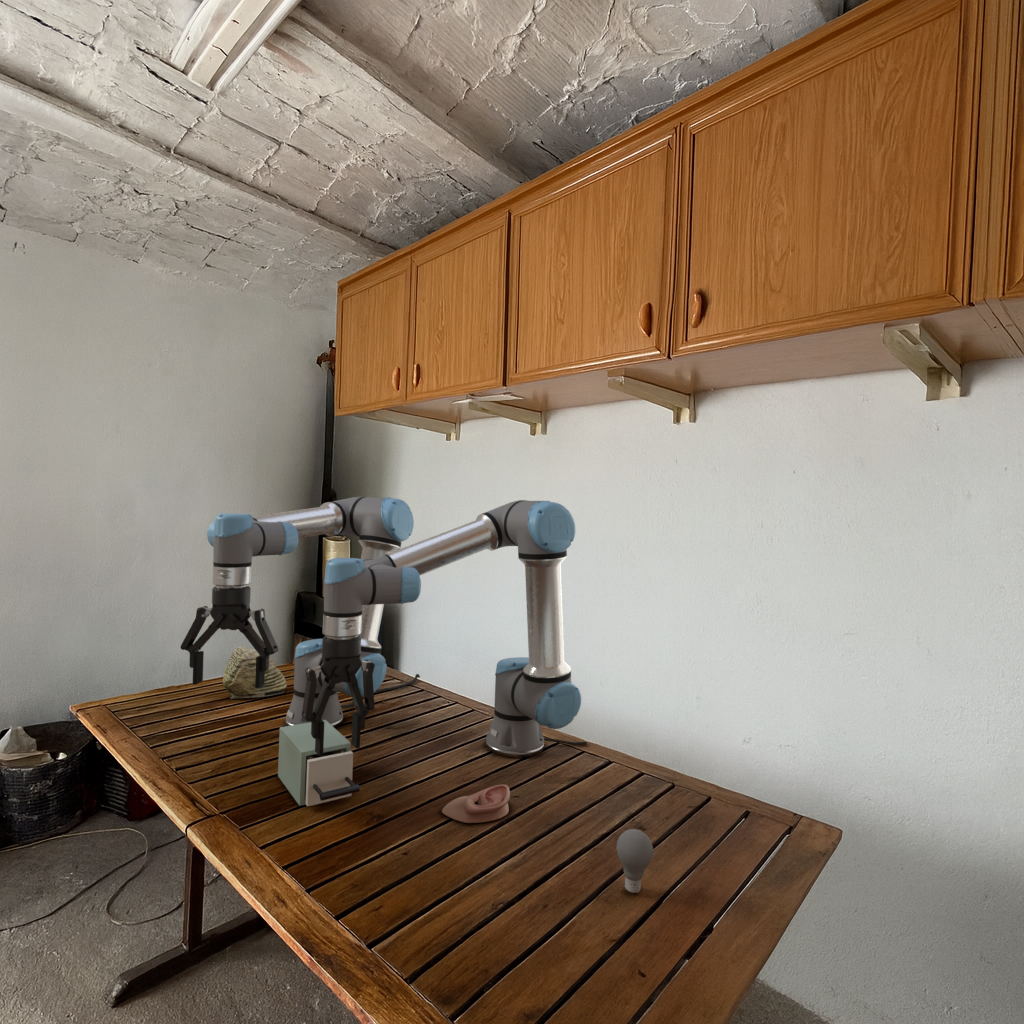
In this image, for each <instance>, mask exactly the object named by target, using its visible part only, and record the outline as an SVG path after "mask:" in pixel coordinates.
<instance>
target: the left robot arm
mask: <svg viewBox="0 0 1024 1024" xmlns="http://www.w3.org/2000/svg"><path fill="white" fill-rule="evenodd" d="M414 521H415V520H414V515H413V512H412V510H411V507H410V506H409V504H408V503H407V502H406V501H405V500H402V499H400V498H393V497H390V496H387V497H382V496H381V497H379V496H353V497H348V498H343V499H338V500H333V501H327V502H324V503H322V504H321V505H320V506H318V507H311V508H310V507H309V508H303V509H296V510H290V511H289V510H288V511H282V512H281V511H280V512H275V513H273V512H272V513H266V514H260V515H252V514H250V513H233V512H232V513H231V512H230V513H226V512H225V513H224V512H223V513H218V514H217V515H216V516H215V519H214V521H212V522H211V523H210V524H209V526H208V528H207V531H206V539H207V541H208V543H209V545H210V546H211V547H213V548H212V549H213V550H212V551H213V555H212V557H213V559H212V585H214V586H213V588H211V604H212V606H211V607H208V606H207V605H203V606H200V607H198V608H196V613H195V618H194V619H193V622H192V624H191V626H190V628H189V629H188V631H187V633H186V635H185V637H184V638H183V641H182V642H181V645H180V650H182V651H186V652H188V653H189V662H188V663H189V664H188V665H189V668H190V669H192V686H193V685H195V686H196V685H198V684H200V683H202V682H203V681H204V680H203V679H204V657H205V656H204V653H205V652H204V650H202V648H203V647H204V646H205V645H206V643H207V642H208V641H209V640H210V639H211V638H212V637H213V636H214V635H215V634H216V632H217V631H218V630H219V629H220V630H221V631H222V630H223V631H224V630H229V631H237V630H238V631H239V632H240V633H242V634H243V635H244V637H245V638H246V639H247V641H248V642H249V644H251V646H252V647H253V649H255V650H256V651H257V652H258V654H259V655H260V656H258V657H256V679H255V688H260V687H261V686H263V685H264V677H265V671H267V670H268V668H269V658H270V655H273V654H275V653H277V652H278V651H280V650H279V646H278V644H277V642H276V640H275V637H274V635H273V633H272V631H271V629H270V626H269V624H268V621H267V619H266V611H265V609H264V608H260V609H259V608H258V609H254V610H253V609H251V608H250V607H251V606H250V605H251V592H252V588H251V587H250V586H249V585H250V584H251V583H252V564H253V563H252V561H253V557H262V556H263V557H265V556H282V555H286V554H291V553H293V552H294V551H295V550H296V548H297V547H298V544H299V539H304V538H305V539H306V538H311V537H316V536H320V535H325V536H327V537H336V536H347V537H348V536H351V537H356V538H358V543H359V544H360V546H361V547H362V551H361V556H360V559H362V560H364V559H370V560H372V559H375V558H378V557H380V556H384V555H386V554H389V553H391V552H394V551H396V550H399V549H401V547H402V542H404V541H406V540H408V539H409V538H410V537H411V535H412V533H413V531H414V526H415V525H414V523H415V522H414ZM384 607H385V604H373V605H363V607H362V628H361V634H359V636H360V637H361V653H360V658H361V660H362V661H367V660H369V661H371V662H372V663H374V664H375V667H374V671H373V689H374V694H379V693H382V692H388V691H393V690H397V689H400V688H404V687H407V686H410V685H413V684H414V683H415V682H416V681H417V680H418V679H419V678H421V675H420V674H419V673H416V674H415V676H414V678H413V680H410V681H408V682H405V683H402V684H399V685H395V686H389V687H384V688H380V687H382V684H383V682H384V680H385V678H386V675H387V669H388V666H387V665H388V664H387V663H386V661H387V660H386V658H385V657H384V656H383V655H382V654H381V651H382V645H381V644H380V643H379V640H378V639H379V638H378V637H379V633H380V627H381V622H382V617H383V612H384ZM209 616H210V617H211V618H212V620H213V621H212V622H211V623H210V624H209V626H208V627H207V628H206V629H205V630H204V631H203V633H202V634H201V635H200V636H199V637H198V635H199V634H200V632H201V630H202V628H203V626H204V624H205V622H206V620H207V618H209ZM250 618H252V619H251V620H253V621H254V623H255V626H256V629H257V630H258V632H259V634H258V633H257V632H256V630H255V629H254V627H253V624H252V623H251V622H250V620H249V619H250ZM197 637H198V639H197ZM322 639H323V638H313V639H308V640H304V641H302V642H299V643H298V644H297V645H296V647H295V652H294V653H295V654H294V657H293V659H294V660H293V662H294V663H293V665H294V666H293V695H292V696H293V697H292V699H291V702H290V704H289V708H288V709H287V713H286V715H285V726H291V725H297V724H303V723H309V722H311V721H306V720H305V719H304V718H303V717H302V710H303V703H304V696H305V689H306V682H307V677H306V673H305V669H306V668H307V667H310V668H313V667H316V666H319V664H320V662H321V660H322ZM355 676H356V679H357V682H358V687H359V690H360V693H361V696H362V698H364V688H363V671H362V670H361V667H360V669H359V670H358V672H357V673H356V675H355ZM324 677H325V675H324V674H323V673H322V671H321V672H320V673H319V677H318V678H317V686H316V692H315V699H314V706H315V704H316V701H317V698H318V696H319V693H320V691H321V688H322V685H323V684H322V683H323V680H324ZM338 693H340V694H344V695H348V696H350V697H352V695H351V692H350V689H349V686H348V683H347V682H341V683H338V684H335V687H334V689H332V692H331V694H330V697H329V699H328V702H327V705H326V707H325V710H324V713H323V715H322V718H321V720H326V721H327V722H328V723H330V724H331V725H332V726H333V727H334V728H335V729H336V728H337V727H339V726H340V725H342V723H343V722H344V714H343V709H345V708H350V707H353V706H355V704H354V701H353V700H352V702H350V703H347V704H341V702H340V699H339V695H338ZM314 706H313V709H314Z"/></svg>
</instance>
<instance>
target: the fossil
mask: <svg viewBox="0 0 1024 1024" xmlns="http://www.w3.org/2000/svg"><path fill="white" fill-rule="evenodd" d="M258 656H260V655H259V654H258V652H257V651H256V650H255V648H251V647H247V646H246V647H245V646H238V647H237V648H236V649H235V650H233V651H232V653H231V656H230V657H229V659H228V660H227V663H226V666H225V668H224V671H223V675H222V676H223V677H222V685H223V687H224V688H225V690H226V691H228V693H229V698H230V699H250V698H264V697H271V696H275V695H281V694H284V693H285V691H286V689H287V687H288V686H287V680H286V678H285V676H284V674H283V673H282V672H281V669H279V668H278V667H277V665H276V663H275V662H274V660H273V659H272V658H271V657H269V668H268V670H267V671H265V677H264V685H263V686H261V687H260V688H255V679H256V657H258Z"/></svg>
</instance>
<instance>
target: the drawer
mask: <svg viewBox="0 0 1024 1024" xmlns="http://www.w3.org/2000/svg"><path fill="white" fill-rule="evenodd" d="M353 763H354V752H353V751H352V750H351V751H349V752H344V750H343V749H339V750H334V751H329V752H324V753H323V755H322V756H319V755H318V754H314V755H309V756H306V775H305V795H306V804H305V805H306V807H311V806H317V805H319V804H324V803H328V802H331V801H336V800H339V799H344V798H349V797H352V795H353V794H355V793H359V792H360V789H361V788H360V785H359V783H357V784H355V783H354V781H353V772H354V771H353V769H354V767H353V766H354V764H353Z"/></svg>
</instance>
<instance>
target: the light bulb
mask: <svg viewBox="0 0 1024 1024" xmlns="http://www.w3.org/2000/svg"><path fill="white" fill-rule="evenodd" d="M615 849H616V854H617V857H618V859H619V861H620V863H621V865H622V867H623V873H624V874H623V875H624V876H625V878H624V888H625V890H627V891H628V892H630V893H634V894H635V893H639V892H640V891H641V889H642V887H641V886H642V879H643V877H644V875H645V871H646V868H647V867H648V866H649V864H650V863H651V861H652V859H653V855H654V847H653V843H652V841H651V838H649V836H648V835H647V834H646V833H645V832H643V831H642V830H641V829H636V828H629V829H627V830H625V831H623V832H622V833H621V834H620V835H619V837H618V839H617V841H616V847H615Z"/></svg>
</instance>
